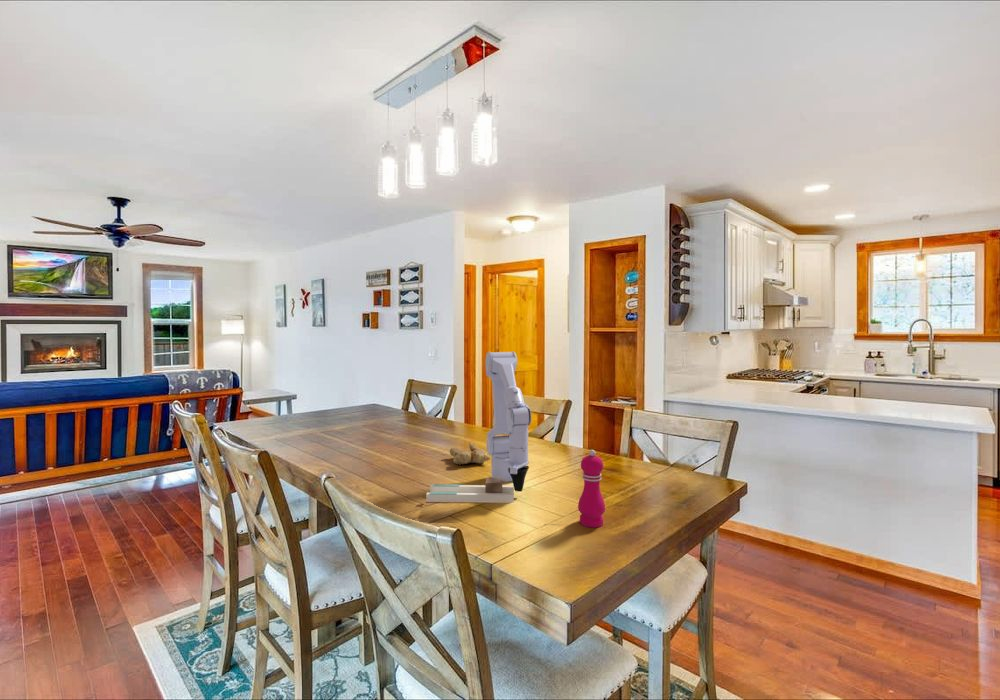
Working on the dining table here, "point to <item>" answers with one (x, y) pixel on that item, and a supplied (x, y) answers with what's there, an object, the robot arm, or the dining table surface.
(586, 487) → the pepper mill
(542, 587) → the dining table surface
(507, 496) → the chute
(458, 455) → the ginger root
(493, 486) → the walnut block
